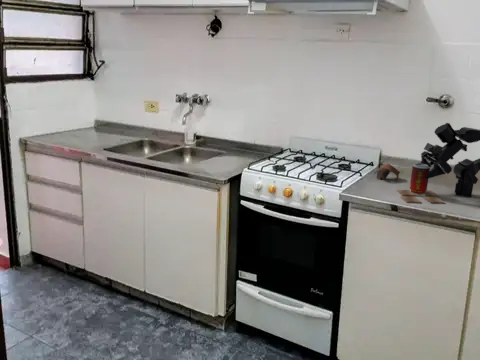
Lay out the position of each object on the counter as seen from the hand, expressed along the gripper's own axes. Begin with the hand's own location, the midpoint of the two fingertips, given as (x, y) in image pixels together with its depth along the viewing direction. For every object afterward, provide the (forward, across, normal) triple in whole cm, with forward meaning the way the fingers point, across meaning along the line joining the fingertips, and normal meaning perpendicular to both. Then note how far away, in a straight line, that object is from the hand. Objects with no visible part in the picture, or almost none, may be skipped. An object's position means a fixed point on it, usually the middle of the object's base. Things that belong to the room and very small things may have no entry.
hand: (420, 175), depth 215 cm
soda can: (+6, 0, +5) cm, 8 cm away
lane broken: (+8, +10, +4) cm, 13 cm away
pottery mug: (+10, -23, +2) cm, 25 cm away
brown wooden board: (+6, 0, +6) cm, 8 cm away
